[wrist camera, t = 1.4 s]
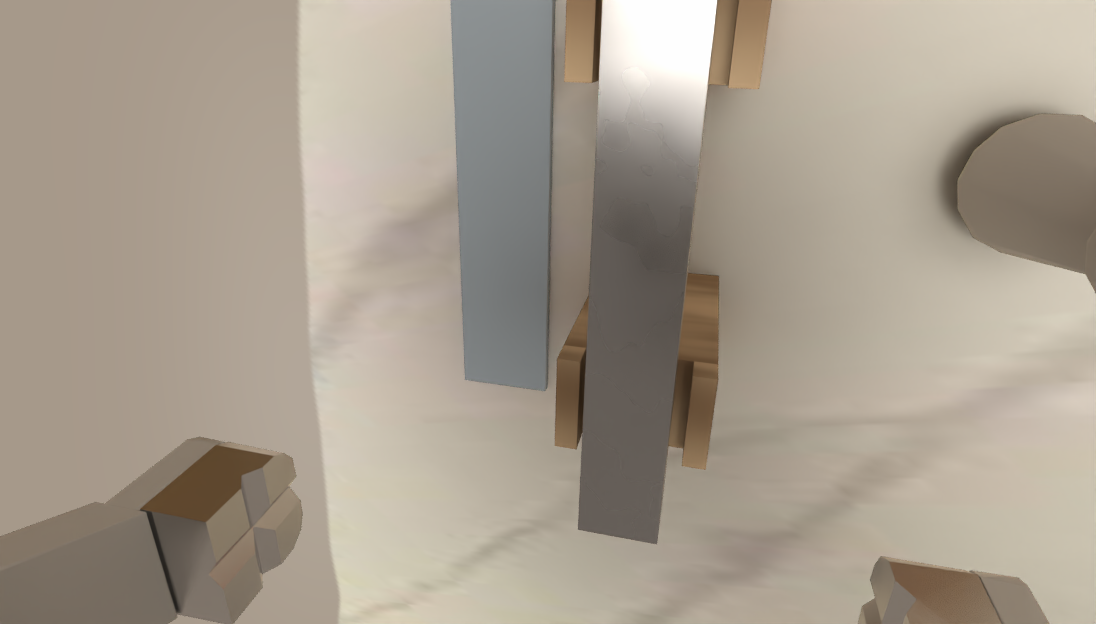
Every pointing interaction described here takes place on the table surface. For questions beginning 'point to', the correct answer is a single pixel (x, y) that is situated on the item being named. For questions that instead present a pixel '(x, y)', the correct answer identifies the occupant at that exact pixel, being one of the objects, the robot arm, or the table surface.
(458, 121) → the grey flat bar
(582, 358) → the stand far
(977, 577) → the robot arm
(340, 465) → the table surface
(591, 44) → the stand near
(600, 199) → the bar
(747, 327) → the table surface
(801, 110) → the table surface
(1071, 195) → the salt shaker
